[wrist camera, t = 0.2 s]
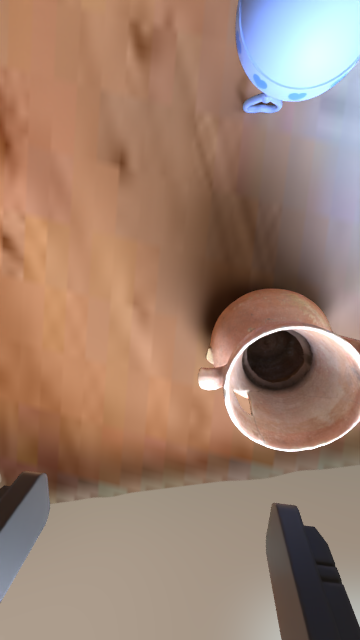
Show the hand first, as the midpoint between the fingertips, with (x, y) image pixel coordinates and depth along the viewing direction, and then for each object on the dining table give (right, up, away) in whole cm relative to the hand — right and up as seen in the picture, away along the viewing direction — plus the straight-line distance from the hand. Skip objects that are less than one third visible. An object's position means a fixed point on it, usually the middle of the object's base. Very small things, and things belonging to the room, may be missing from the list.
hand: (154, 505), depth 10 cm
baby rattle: (+10, +29, +21) cm, 38 cm away
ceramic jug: (+13, +4, +28) cm, 31 cm away
